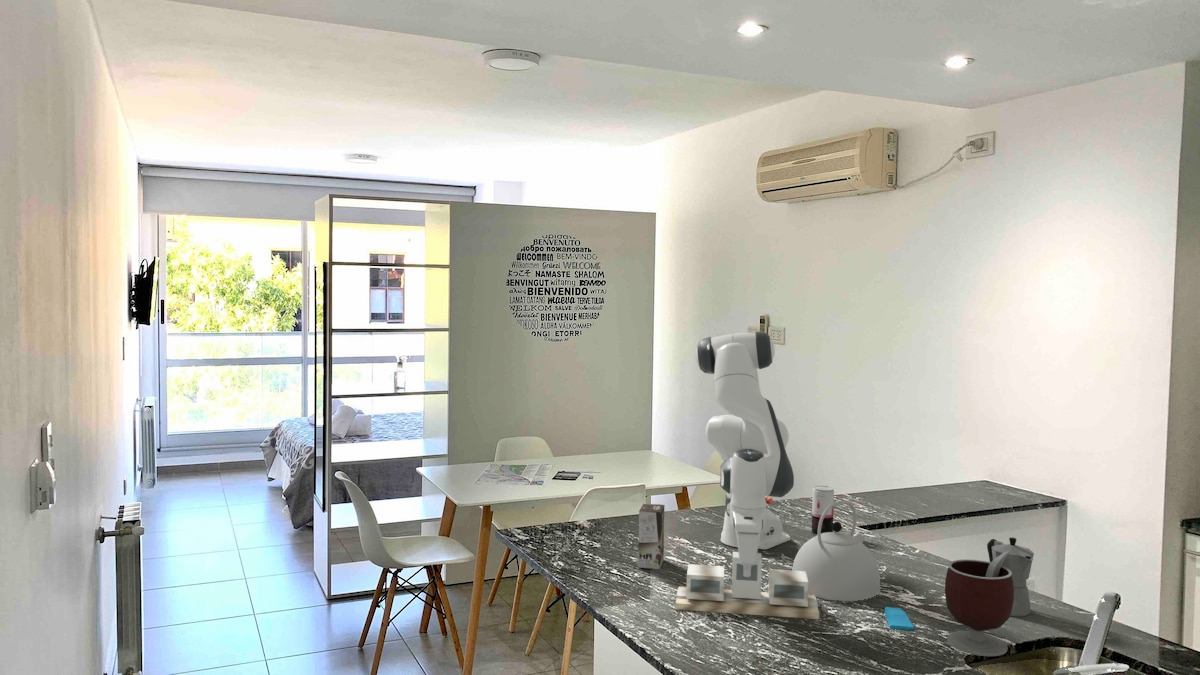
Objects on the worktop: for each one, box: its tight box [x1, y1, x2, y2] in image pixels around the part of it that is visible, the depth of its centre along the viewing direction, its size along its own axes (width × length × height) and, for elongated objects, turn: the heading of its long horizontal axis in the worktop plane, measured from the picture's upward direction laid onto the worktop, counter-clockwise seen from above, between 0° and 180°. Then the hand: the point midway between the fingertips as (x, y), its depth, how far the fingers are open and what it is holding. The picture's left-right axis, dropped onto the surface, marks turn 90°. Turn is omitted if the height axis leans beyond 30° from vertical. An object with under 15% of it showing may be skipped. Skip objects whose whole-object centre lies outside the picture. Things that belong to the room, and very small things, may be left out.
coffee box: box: [637, 503, 665, 570], centre depth 244 cm, size 9×6×16 cm
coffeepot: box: [986, 537, 1035, 618], centre depth 213 cm, size 15×9×18 cm, turn 13°
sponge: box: [884, 606, 916, 631], centre depth 205 cm, size 2×12×6 cm
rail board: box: [674, 563, 820, 620], centre depth 213 cm, size 34×12×8 cm, turn 81°
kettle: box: [792, 500, 881, 602], centre depth 228 cm, size 25×23×23 cm
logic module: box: [731, 551, 763, 599], centre depth 213 cm, size 4×7×10 cm, turn 81°
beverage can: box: [811, 485, 835, 536], centre depth 275 cm, size 6×7×15 cm
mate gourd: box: [944, 551, 1014, 657], centre depth 191 cm, size 16×14×20 cm
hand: (746, 571), depth 213 cm, fingers open, 5 cm apart
